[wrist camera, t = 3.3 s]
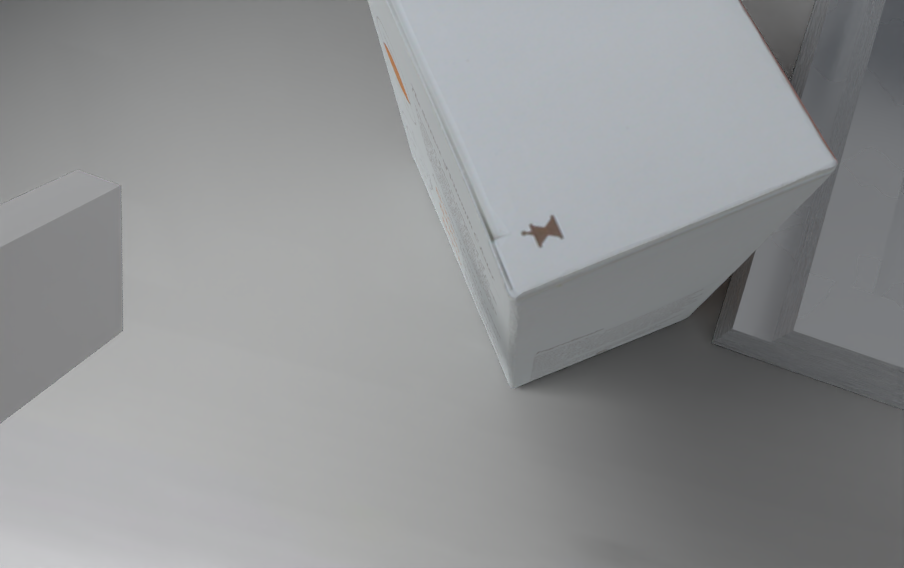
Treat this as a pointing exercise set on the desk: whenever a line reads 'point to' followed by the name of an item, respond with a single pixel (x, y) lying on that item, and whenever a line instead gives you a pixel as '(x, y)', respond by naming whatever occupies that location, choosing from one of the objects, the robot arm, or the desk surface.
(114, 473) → the desk surface
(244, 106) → the desk surface
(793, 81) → the grey bin
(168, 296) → the desk surface
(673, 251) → the small box
